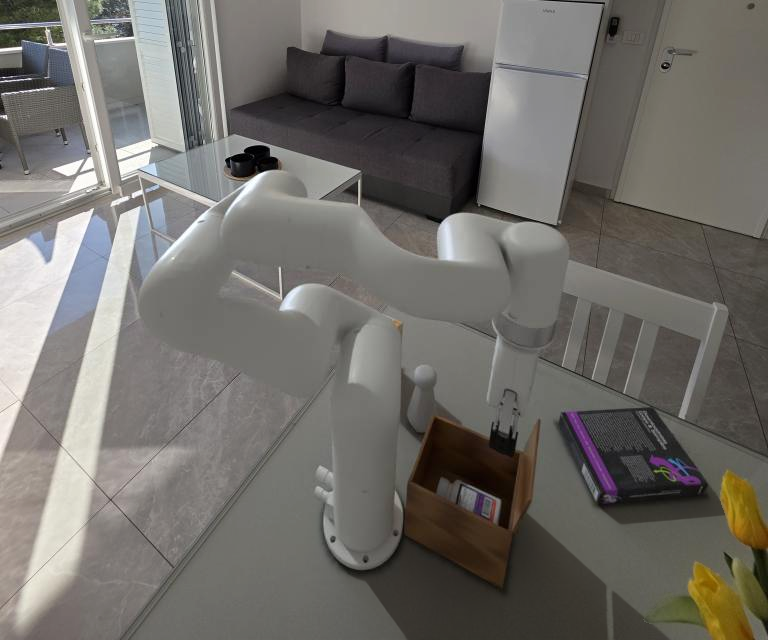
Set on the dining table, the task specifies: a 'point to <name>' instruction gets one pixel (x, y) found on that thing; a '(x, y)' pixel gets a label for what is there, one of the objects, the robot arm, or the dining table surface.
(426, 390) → the salt shaker
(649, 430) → the box
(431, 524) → the wooden storage box
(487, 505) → the pill bottle
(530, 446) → the flap
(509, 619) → the dining table surface
